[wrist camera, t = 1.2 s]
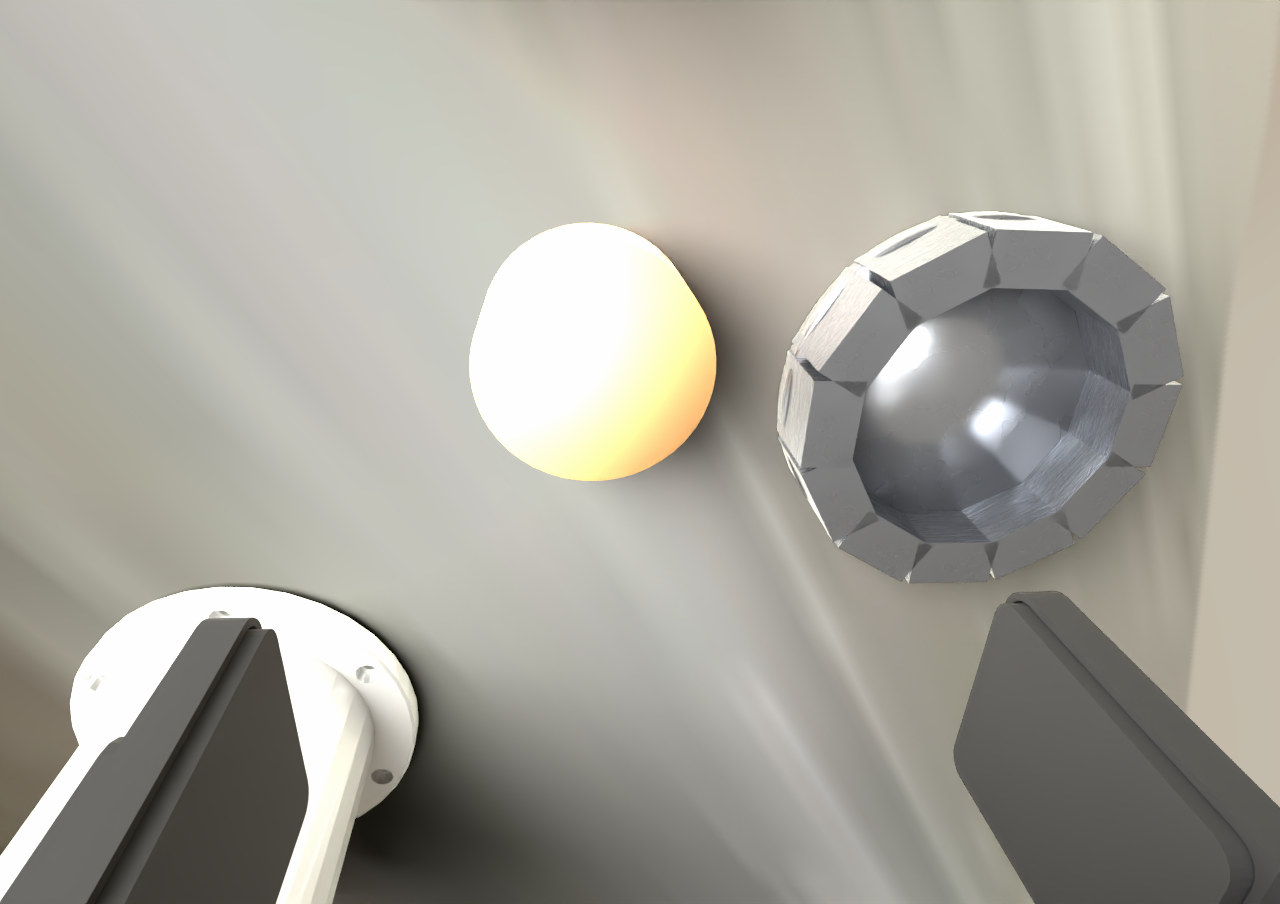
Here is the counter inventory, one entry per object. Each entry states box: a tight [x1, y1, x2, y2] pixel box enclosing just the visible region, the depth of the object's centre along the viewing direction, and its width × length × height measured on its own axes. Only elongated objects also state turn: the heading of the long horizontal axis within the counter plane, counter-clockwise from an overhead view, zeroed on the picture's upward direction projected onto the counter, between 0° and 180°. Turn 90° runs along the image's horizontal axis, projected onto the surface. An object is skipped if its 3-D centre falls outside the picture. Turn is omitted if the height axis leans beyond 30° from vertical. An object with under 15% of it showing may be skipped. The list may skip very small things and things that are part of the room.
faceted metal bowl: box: [776, 211, 1183, 583], centre depth 26 cm, size 13×13×3 cm
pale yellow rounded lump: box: [470, 223, 716, 481], centre depth 23 cm, size 7×7×4 cm
